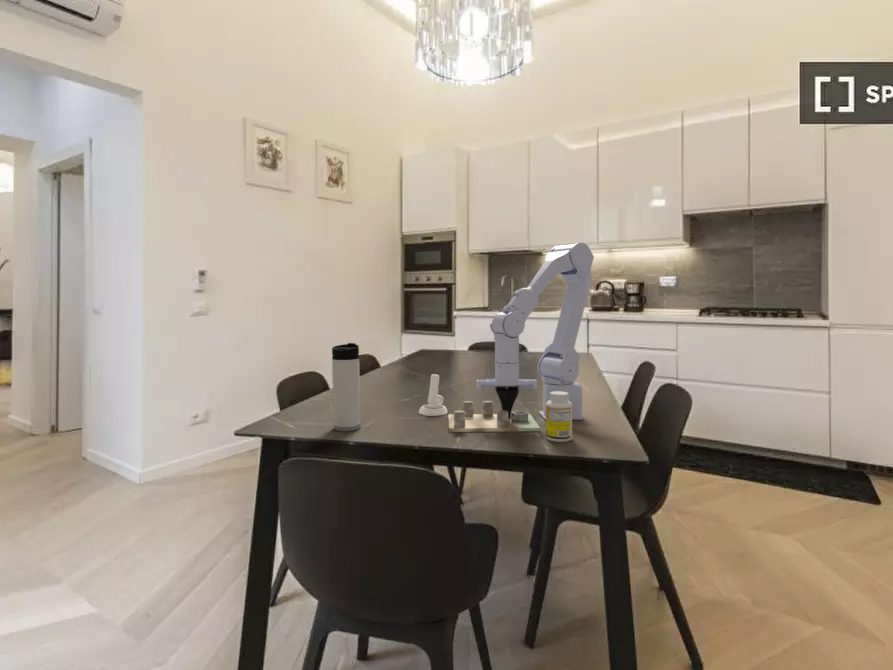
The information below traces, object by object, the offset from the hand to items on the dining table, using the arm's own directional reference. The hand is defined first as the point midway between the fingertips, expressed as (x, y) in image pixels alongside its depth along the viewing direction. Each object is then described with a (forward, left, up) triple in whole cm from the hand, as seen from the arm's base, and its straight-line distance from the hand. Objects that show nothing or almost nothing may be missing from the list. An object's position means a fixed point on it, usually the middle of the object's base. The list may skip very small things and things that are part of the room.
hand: (506, 417), depth 128 cm
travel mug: (+38, +3, -2) cm, 38 cm away
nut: (-3, 0, -1) cm, 3 cm away
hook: (+18, -13, -2) cm, 22 cm away
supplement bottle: (-10, +14, -2) cm, 17 cm away
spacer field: (+6, 0, -2) cm, 6 cm away
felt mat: (-4, 0, -2) cm, 5 cm away
